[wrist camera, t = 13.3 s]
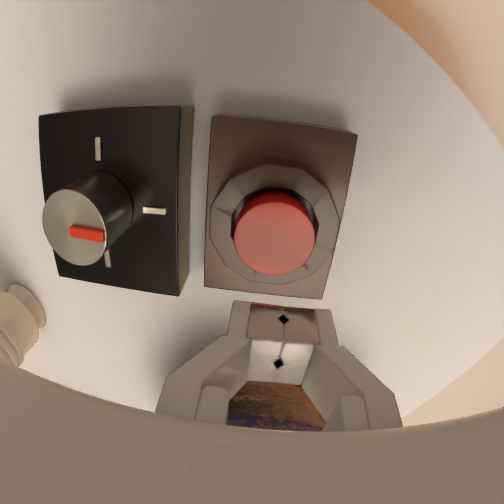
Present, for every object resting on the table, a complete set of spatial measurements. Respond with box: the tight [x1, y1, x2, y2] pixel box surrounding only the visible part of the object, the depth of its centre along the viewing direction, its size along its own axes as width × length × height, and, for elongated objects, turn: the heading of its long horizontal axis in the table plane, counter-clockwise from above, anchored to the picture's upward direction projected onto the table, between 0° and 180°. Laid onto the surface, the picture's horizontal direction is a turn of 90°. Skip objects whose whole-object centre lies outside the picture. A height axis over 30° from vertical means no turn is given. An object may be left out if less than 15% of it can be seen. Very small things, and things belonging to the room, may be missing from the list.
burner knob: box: [42, 172, 133, 266], centre depth 15 cm, size 4×4×4 cm
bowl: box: [227, 381, 327, 431], centre depth 25 cm, size 18×18×10 cm
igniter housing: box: [204, 114, 358, 299], centre depth 18 cm, size 11×8×4 cm
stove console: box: [39, 105, 194, 296], centre depth 18 cm, size 12×10×3 cm
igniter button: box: [234, 191, 315, 275], centre depth 16 cm, size 4×4×2 cm
